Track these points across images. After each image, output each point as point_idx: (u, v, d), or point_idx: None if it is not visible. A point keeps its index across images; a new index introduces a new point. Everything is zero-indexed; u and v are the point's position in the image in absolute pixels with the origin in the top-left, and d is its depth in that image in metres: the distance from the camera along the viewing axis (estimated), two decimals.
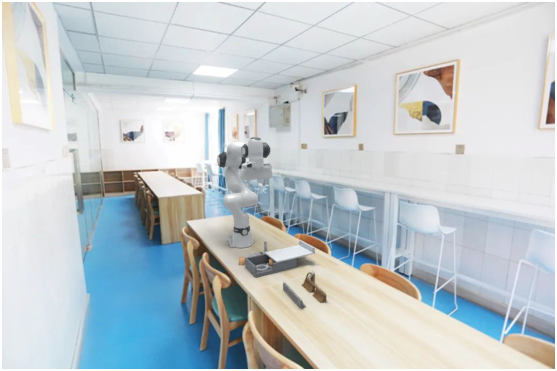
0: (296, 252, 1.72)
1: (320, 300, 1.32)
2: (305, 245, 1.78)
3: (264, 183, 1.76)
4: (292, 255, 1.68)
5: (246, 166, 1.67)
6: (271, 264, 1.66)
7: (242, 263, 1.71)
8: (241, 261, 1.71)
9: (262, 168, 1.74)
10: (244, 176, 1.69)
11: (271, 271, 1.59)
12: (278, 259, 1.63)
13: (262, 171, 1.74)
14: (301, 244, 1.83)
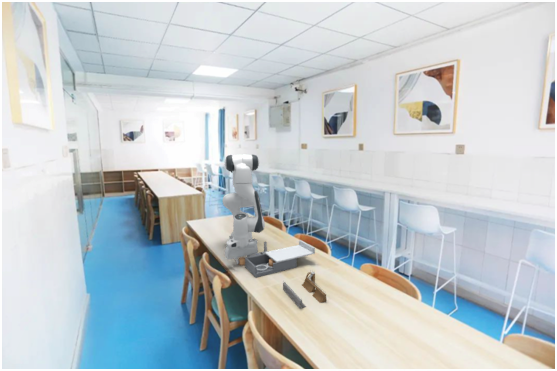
0: (296, 252, 1.72)
1: (320, 300, 1.32)
2: (305, 245, 1.78)
3: None
4: (292, 255, 1.68)
5: (230, 246, 1.65)
6: (271, 264, 1.66)
7: (242, 263, 1.71)
8: (241, 261, 1.71)
9: (247, 245, 1.71)
10: (228, 255, 1.66)
11: (271, 271, 1.59)
12: (278, 259, 1.63)
13: (247, 248, 1.72)
14: (301, 244, 1.83)
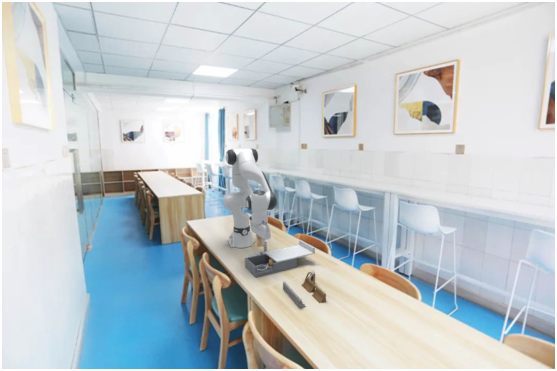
0: (296, 252, 1.72)
1: (320, 300, 1.32)
2: (305, 245, 1.78)
3: (261, 241, 1.60)
4: (292, 255, 1.68)
5: (249, 218, 1.66)
6: (271, 264, 1.66)
7: (257, 242, 1.62)
8: (257, 239, 1.63)
9: (259, 225, 1.58)
10: (251, 227, 1.69)
11: (271, 271, 1.59)
12: (278, 259, 1.63)
13: (259, 228, 1.58)
14: (301, 244, 1.83)
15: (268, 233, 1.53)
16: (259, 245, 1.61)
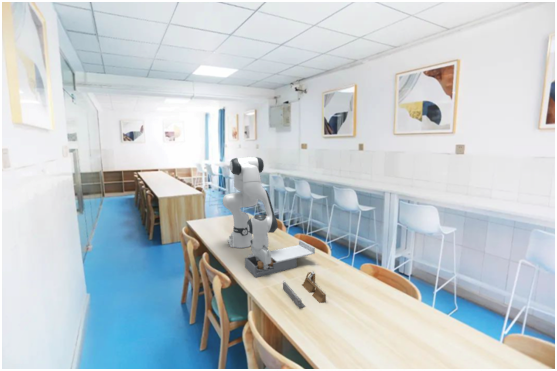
0: (296, 252, 1.72)
1: (319, 300, 1.32)
2: (305, 245, 1.78)
3: (263, 266, 1.60)
4: (292, 255, 1.68)
5: (250, 241, 1.68)
6: (271, 264, 1.66)
7: None
8: None
9: (260, 250, 1.60)
10: (252, 250, 1.71)
11: (271, 271, 1.59)
12: (278, 259, 1.63)
13: (260, 253, 1.60)
14: (301, 244, 1.83)
15: (269, 258, 1.55)
16: None
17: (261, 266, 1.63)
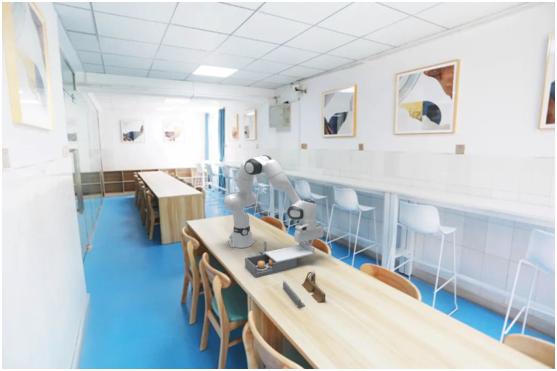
0: (296, 252, 1.72)
1: (319, 300, 1.32)
2: (305, 245, 1.78)
3: (310, 244, 1.79)
4: (292, 255, 1.68)
5: (301, 229, 1.71)
6: (271, 264, 1.66)
7: None
8: None
9: (315, 229, 1.78)
10: (299, 238, 1.73)
11: (271, 271, 1.59)
12: (278, 259, 1.63)
13: (314, 232, 1.78)
14: (301, 244, 1.83)
15: None
16: None
17: (261, 266, 1.63)
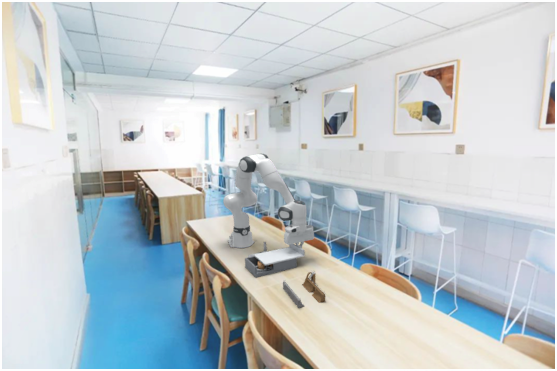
0: (286, 255, 1.69)
1: (319, 300, 1.32)
2: (295, 247, 1.75)
3: (301, 246, 1.76)
4: (281, 258, 1.64)
5: (291, 231, 1.68)
6: (271, 264, 1.66)
7: None
8: None
9: (305, 231, 1.75)
10: (288, 241, 1.70)
11: (271, 271, 1.59)
12: (266, 262, 1.59)
13: (304, 234, 1.75)
14: (291, 246, 1.79)
15: None
16: None
17: (261, 266, 1.63)
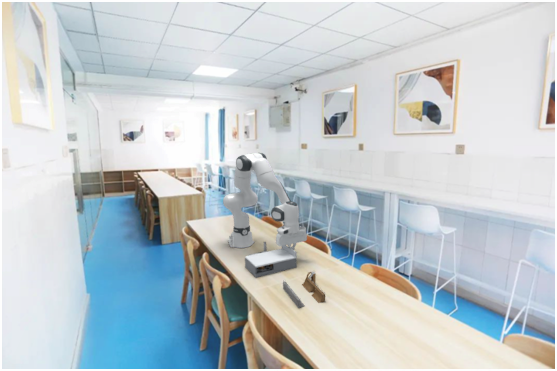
0: (278, 257, 1.66)
1: (319, 300, 1.32)
2: (287, 249, 1.73)
3: (293, 247, 1.73)
4: (273, 260, 1.62)
5: (283, 233, 1.65)
6: (271, 264, 1.66)
7: None
8: None
9: (297, 232, 1.72)
10: (280, 242, 1.67)
11: (271, 271, 1.59)
12: (257, 264, 1.57)
13: (297, 235, 1.72)
14: (284, 248, 1.77)
15: None
16: None
17: (261, 266, 1.63)
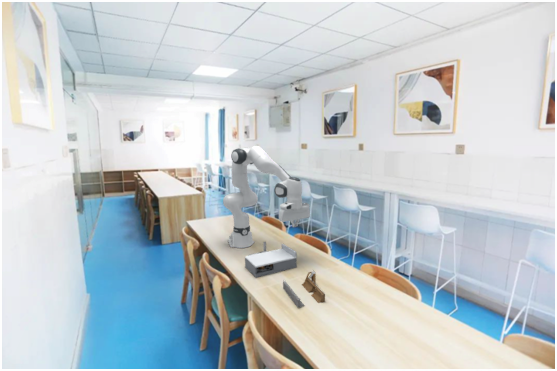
0: (277, 257, 1.66)
1: (319, 300, 1.32)
2: (287, 249, 1.72)
3: (296, 224, 1.72)
4: (273, 260, 1.62)
5: (286, 208, 1.64)
6: (271, 264, 1.66)
7: None
8: None
9: (300, 208, 1.71)
10: (283, 218, 1.66)
11: (271, 271, 1.59)
12: (257, 264, 1.57)
13: (300, 211, 1.71)
14: (283, 248, 1.77)
15: None
16: None
17: (261, 266, 1.63)
